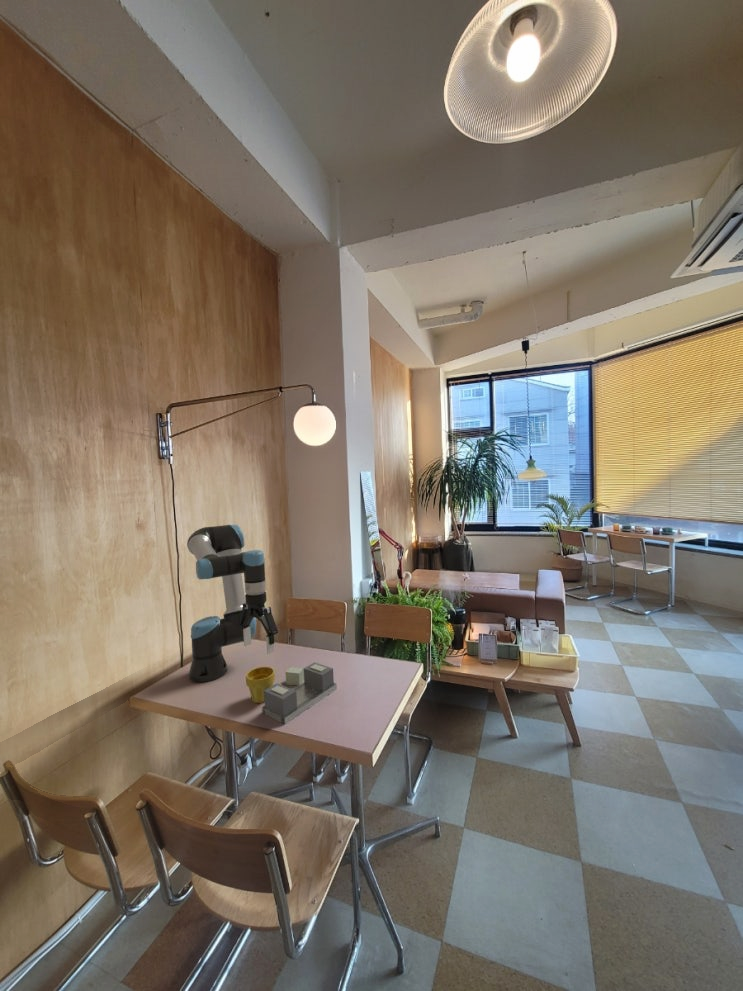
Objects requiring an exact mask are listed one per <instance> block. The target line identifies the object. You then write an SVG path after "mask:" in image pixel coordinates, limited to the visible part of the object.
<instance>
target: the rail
mask: <svg viewBox="0 0 743 991" xmlns="http://www.w3.org/2000/svg"><path fill="white" fill-rule="evenodd" d="M292 689H293V690H295V691H296V695H297V708H296V709H294V710H293V711H291V712H290V713H288V714H287V715H285V716H281V715H279V714H277V713H275V712H273V711H271V710H269V709H267V708H265V705H263V706H262V707H261V713H262V714H263V715H265V716H267V717H270V718H272V719H274V720H276V721H277V722H280V723H282V724H284V725H286V724H288V723H289V722H290V721H292V720H293V719H295V718H297V717H298V716H299V715H301V714H303V712H305V711H307V710H308V709H310V708H311V707H312V706H314V705H316V704H317V703H319V702H320V701H322V700H323V699H324V698H326V697H327V696H329V695H330V694H331V693H333V692H335V691H336V690H337V689H338V686H337V683H335V682H334V684H332V685H331V686H329V687H328V688H326V689H325V690H320V689H317V688H314V687H312V686H309V685H307V684H304V681H303V682H302V684H300V685H296V686H295V687H293V688H292Z"/></svg>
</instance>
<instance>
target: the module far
mask: <svg viewBox="0 0 743 991" xmlns="http://www.w3.org/2000/svg"><path fill="white" fill-rule="evenodd" d="M303 669H304V681H303V682H304V684H307V685H309V686H312V687H314V688H317V689H320V690H325V689H326V688H328V687H329V686H331V685H332V684H334V683H335V680H334V678H335V677H334V668H333V667H329V666H327V665H323V664H321V663H318V662H312V663H311V664H309V665H307V666H305V667H303Z"/></svg>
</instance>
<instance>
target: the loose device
mask: <svg viewBox="0 0 743 991" xmlns="http://www.w3.org/2000/svg"><path fill="white" fill-rule="evenodd" d="M303 682H304V668H300V667H288V669H287V670H286V671H285V684H286V685H290V686H291V685H293V686H298V685H300V684H302V683H303Z"/></svg>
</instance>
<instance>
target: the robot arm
mask: <svg viewBox="0 0 743 991" xmlns="http://www.w3.org/2000/svg"><path fill="white" fill-rule="evenodd" d="M186 547H187V549H188V552H190V553H191V554H192V555H194V557H195V559H196V561H195V572H196V573H195V574H196V577H197V579H198V580H210V579H214V578H216V579H217V578H220V577H221V578H222V584H223V585H222V586H223V587H222V588H223V593H224V595H223V596H224V603H225V611H224V613H223V618H220V617H219V616H218V615H213V616H205V617H203V618H202V619H199V620H197V621H195V622H194V623H193V624H192V625H191V627H190V628H191V629H190V639H191V651H192V652H191V653H192V655H191V656H192V659H191V660H192V661H191V663H190V664H191V665H190V667H189V671H188V678H190V679H189V680H190V681H191V680H192V681H191V682H193V681H195V682H194V683H205V681H207V682H211V680H212V681H214V680H217V679H219V678H221V677H223V676H224V675H225V674H226V673H227V672H228V664H227V661H226V660H225V657H224V655H223V652H222V647H226V646H227V647H228V646H232V645H235V644H238V643H243V646H244V647H247V646H250V645H252V639H254V638H255V635H256V631H257V620H258V621H260V623H261V625H262V627H263V629H264V631H265V632H266V636H265V639H266V640H265V641H266V643H265V644H266V655H270V654H272V653H274V652H275V635H277V634H278V633H279V630H278V627H277V624H276V622H275V618H274V616H273V614H272V607H271V606H268V607H266V605H265V603H267V592H266V591H267V584H266V583H267V582H266V570H265V569H266V567H265V562H266V561H265V560H266V559H265V555H264V554H265V553H264V551H262V550H258V549H254V550H247V551H242V549H243V548H244V547H245V536H244V533H243V530H242V528H241V527H240V526H239V525H238V524H225V525H217V526H216V525H215V526H204V527H201V528H199V529H197V530H195V531H194V532H193V533H192V534H190V536H189V537H188V539H187V542H186ZM242 574H243V576H242ZM243 577H244V581H243Z"/></svg>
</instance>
